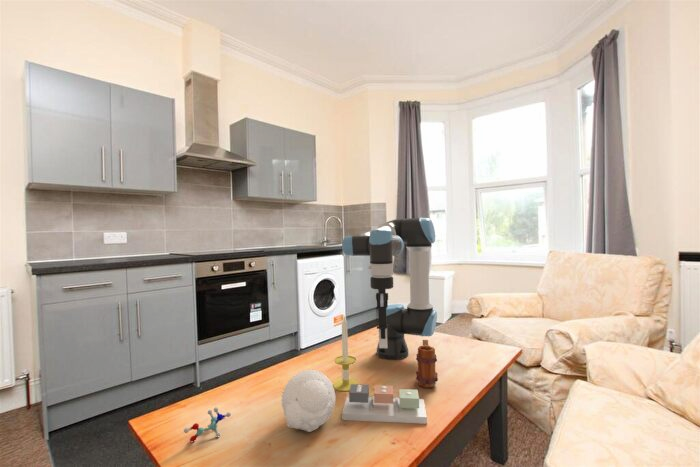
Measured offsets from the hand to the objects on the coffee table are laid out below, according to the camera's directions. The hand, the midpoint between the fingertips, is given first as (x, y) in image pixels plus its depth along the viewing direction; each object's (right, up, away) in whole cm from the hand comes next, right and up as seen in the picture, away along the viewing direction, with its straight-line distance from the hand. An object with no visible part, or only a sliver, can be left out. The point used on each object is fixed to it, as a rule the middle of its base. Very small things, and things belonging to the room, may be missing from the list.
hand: (383, 347), depth 109 cm
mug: (+19, -20, +19) cm, 33 cm away
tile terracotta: (0, -16, -2) cm, 16 cm away
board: (0, -20, -2) cm, 21 cm away
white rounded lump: (-23, -21, -8) cm, 32 cm away
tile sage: (+8, -17, -3) cm, 19 cm away
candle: (-13, -21, +18) cm, 30 cm away
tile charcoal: (-8, -16, -1) cm, 18 cm away
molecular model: (-52, -22, -13) cm, 57 cm away
